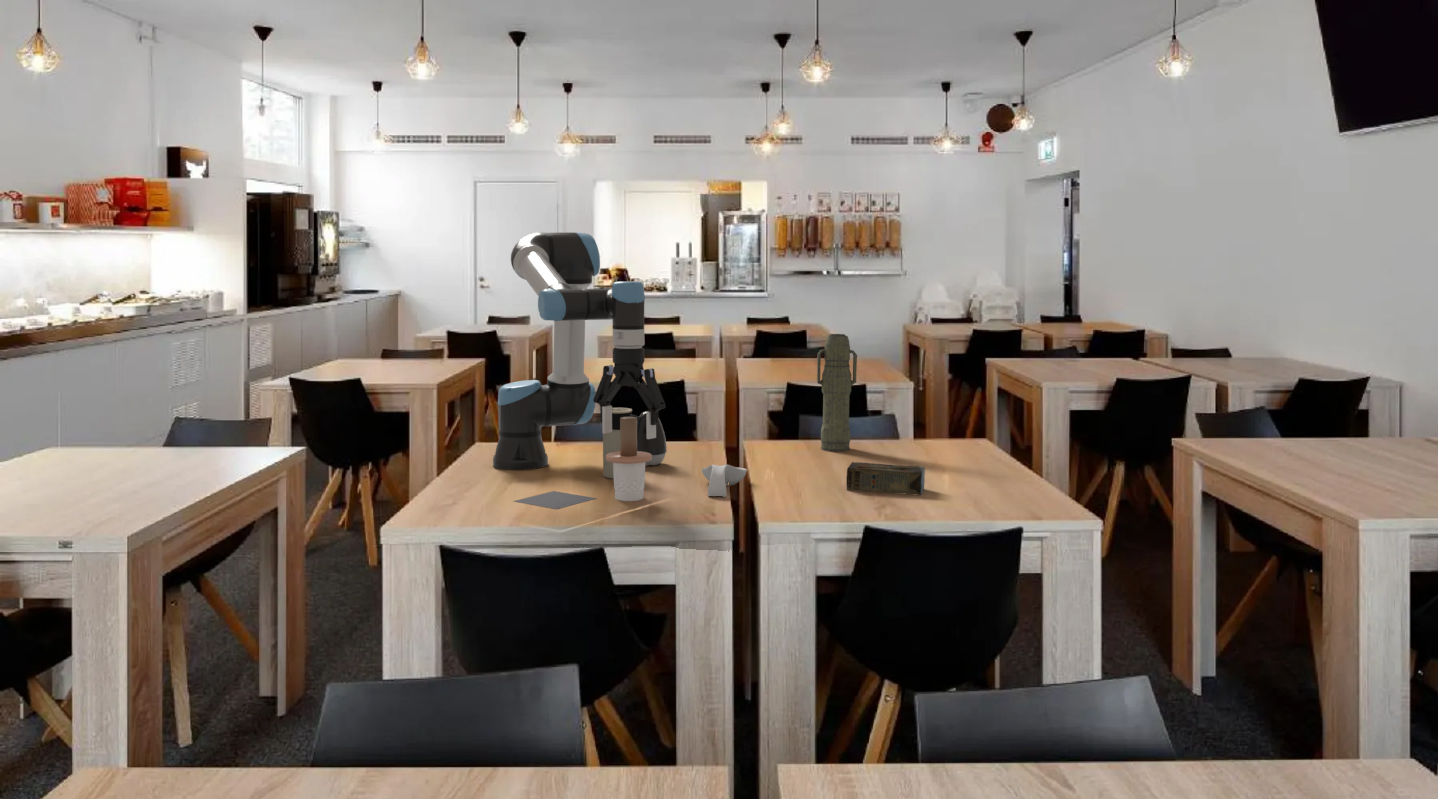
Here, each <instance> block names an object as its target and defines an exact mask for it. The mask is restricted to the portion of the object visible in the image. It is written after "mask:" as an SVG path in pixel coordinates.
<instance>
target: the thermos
mask: <svg viewBox="0 0 1438 799" xmlns="http://www.w3.org/2000/svg"><path fill="white" fill-rule="evenodd" d="M816 354H817V357H816V358H817V360H816V373H817V374H816V382H817V384H819V385H821V393H822V395H823V396H822V402H823V403H822V425H821V429H820V441H821V447H820V449H821V450H822V451H825V452H837V453H838V452H847V451H850V443H851V428H850V423H849V422H850V395H851V392H852V386H853V385H854V384H856V383H857V368H858V367H857V363H858V359H857V358H858V354H857V353H856V352H855V351H854V349H853V350H852V349H851V344H850V340H849V337H848V335H846V334H844V333H831V334H829V335H827V337H826V339H825V343H824V348H822V349H820V350H819V352H817V353H816ZM822 354H824V359H823V360H824V366H823V367H824V368H823V370H822V371H823V372H822V373H821V355H822ZM851 355H852V356H853V357H852V360H853V361H852V372H851V370H850V369H851V366H850V361H851V358H850V357H851Z"/></svg>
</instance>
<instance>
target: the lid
mask: <svg viewBox="0 0 1438 799" xmlns="http://www.w3.org/2000/svg"><path fill="white" fill-rule="evenodd" d="M650 460H652V454H650V453H647V452H641V451H637V418H636V417H621V418H620V451H618V452H612V453H608V454H606V461H608V462H612V463H622V464H633V463H643V462H648V461H650Z"/></svg>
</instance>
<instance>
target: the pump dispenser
mask: <svg viewBox="0 0 1438 799" xmlns="http://www.w3.org/2000/svg"><path fill="white" fill-rule="evenodd" d="M647 411H648V410H646V411H643V412H641V413H640V415H639V416H638V415H635V414H631V416H630V417H636V418H637V451H641V452H647V453H650V454H652V460H650V461H648V462H645V465H646V466H645V467H648V466H647V465H655V466H657V465H659V464H661V463H662V462H663V461H664V459H665V457H666V454H667V451H668V449H667V448H668V447H667V441H666V440H667V439H666V435H665V431H664V428H663V424H662V422H661V419H660V418H659V417H658V424H657V425H656V438H652V439H647V427H646V412H647Z"/></svg>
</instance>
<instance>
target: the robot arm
mask: <svg viewBox="0 0 1438 799" xmlns="http://www.w3.org/2000/svg"><path fill="white" fill-rule="evenodd" d="M600 257H601V256H600V252H599V248H598V244H597V242H596V240H595V238H594V237H593V236H592V235H591V234H589V233H585V232H584V233H583V232H573V231H572V232H569V231H567V232H566V231H565V232H559V231H558V232H556V231H555V232H554V231H553V232H544V231H539V232H532V233H530V234H527V235H525V236H524V237H522V238H521V239H520V240H518V241H517V242H516V243H515V245H514V247H513V248H512V251H511V254H510V264H511V267H512V270H513V271H514V272H515V274H516V275H517V276H518V277H519V278H520V279H522V280H525V281H526V282H527V283H528V284H529V286H530V287H531V288H532V290H533V291H534V292H535V294H536V295H537V297H538V298H537V310H538V312H539V317H540V318H541V319H542V320H544V321H552V322H553V324H554V325H553V353H552V354H553V355H552V356H553V358H552V359H553V360H552V361H553V362H552V363H553V365H552V366H553V367H552V373H550V374H549V375H548V376H547V382H546V384H542V383H541V381H540V380H537V379H529V380H528V379H527V380H526V379H525V380H519V381H514V382H510V383H505V384H503V385H502V386H501V387H500V388H499V389H498V394H497V397H498V398H497V408H498V412H497V413H498V441H497V444H496V448H495V452H494V453H495V454H494V455H493V457H492V467H494V468H496V469H501V470H511V471H515V470H517V471H518V470H520V471H523V470H524V471H525V470H532V469H533V470H534V469H535V470H536V469H539V468H540V469H541V468H543V467H546V466H547V465H549V457H548V456H549V455H548V454H547V453H546V448H545V446H544V441H543V439H542V427H556V426H576V425H583V424H584V425H585V424H586V423H588V422H590V420H591V419H592V417H593V416H594V415H593V414H594V412H595V409H596V404H598V405H599V407H600V408H599V409H600V415H599V416H600V420H602V422H601V423H602V424H601V426H602V427H601V428H602V430H601V432H602V434H603V433H604V434H605V433H610V432H612V408H613V405H611V402H612V401H613V399H614V398H615V396H616V395H617V393H618V392H619V390H620V389H621V388H622V387H625V386H626V387H630V388H631V387H633V388H634V389H635V390H636V391H637V392H638V394H639V396H640V397H641V399H642V401H643V402H644V404H645V405H646V407H647V409H648V410H646V411H647V412H646V427H647V439H652V438H656V425H657V424H658V418H659V412H660V411H661V410H663V409H665V408H666V406H667V405H666V403H665V400H664V398H663V395H662V392H661V390H660V386H659V384H658V382H657V379H656V372H655V369H654V368H647V369H644V363H645V348H644V346H645V344H646V343H645V300H646V296H645V286H644V283H643V282H642V281H629V280H628V281H625V280H624V281H623V280H622V281H621V280H620V281H614V282H613V283H612V287H605V288H589V287H590V286H591V285H592V284H593V277H596V276H598V274H599V272H600V269H601V258H600ZM599 320H601V321H602V320H606V321H607V320H611V321H612V345H613V346H614V347H613V349H612V363H613V364H614V365H611V364H609V365H604V366H603V370H602V376H601V379H600V382H599V383H598V387H597V388H595V386H594V384H593V383H591V382H590V378H589V376H588V375H586V374H585V343H586V342H585V341H586V321H599ZM614 376H615V377H614ZM613 377H614V378H613ZM612 379H613V380H612ZM596 389H597V390H596Z"/></svg>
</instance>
